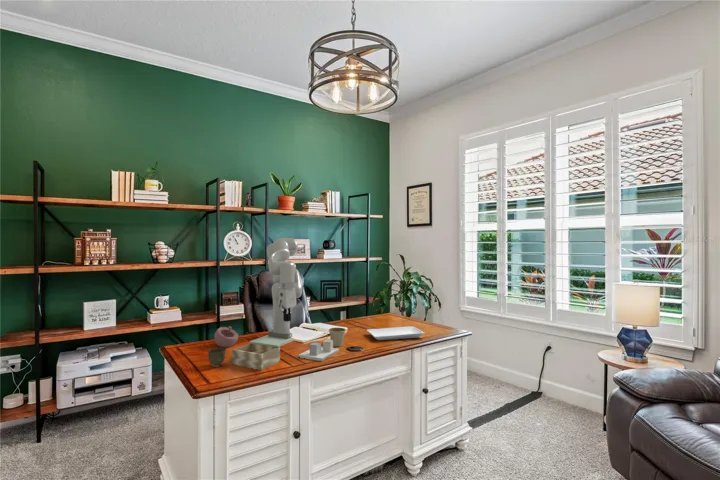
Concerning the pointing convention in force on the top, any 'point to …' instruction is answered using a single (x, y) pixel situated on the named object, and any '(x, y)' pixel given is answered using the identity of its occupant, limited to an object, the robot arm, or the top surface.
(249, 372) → the top surface
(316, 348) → the grey block
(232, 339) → the mortar and pestle
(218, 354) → the cup
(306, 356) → the white dish
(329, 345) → the beige block
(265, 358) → the birch box
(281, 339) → the lid
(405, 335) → the tray
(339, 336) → the flower pot
